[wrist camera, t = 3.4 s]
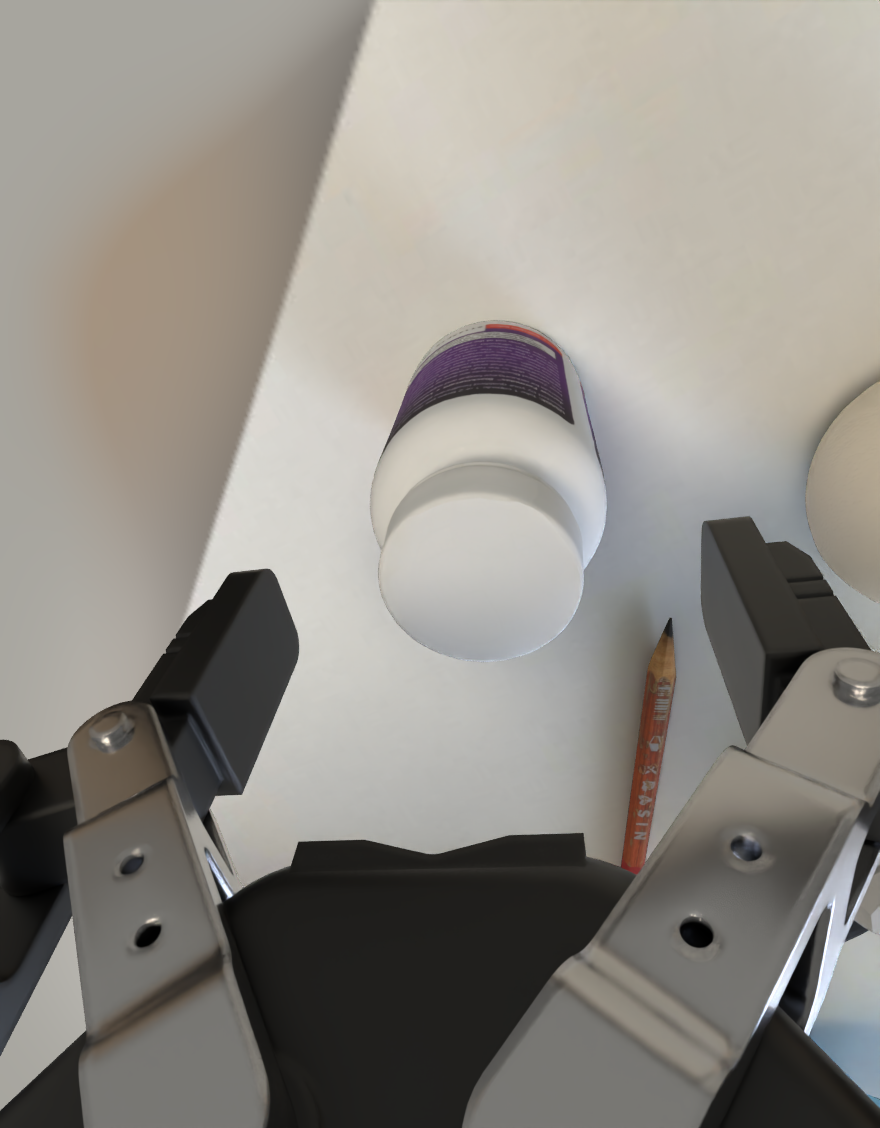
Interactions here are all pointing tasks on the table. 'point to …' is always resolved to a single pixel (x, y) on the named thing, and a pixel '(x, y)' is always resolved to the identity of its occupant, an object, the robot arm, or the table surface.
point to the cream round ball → (849, 494)
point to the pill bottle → (488, 495)
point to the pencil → (650, 750)
